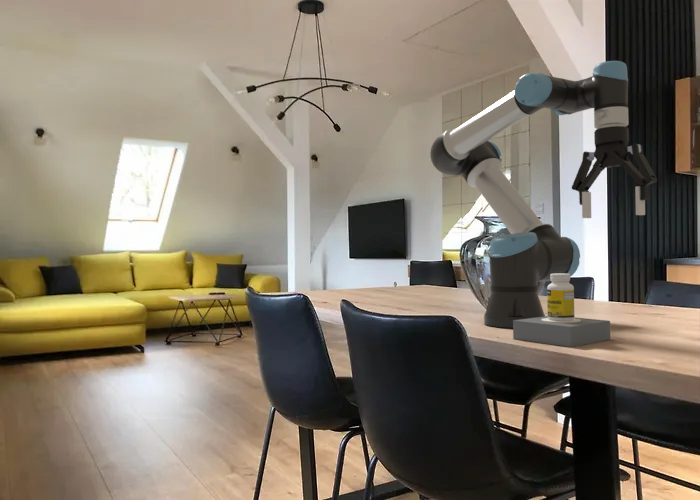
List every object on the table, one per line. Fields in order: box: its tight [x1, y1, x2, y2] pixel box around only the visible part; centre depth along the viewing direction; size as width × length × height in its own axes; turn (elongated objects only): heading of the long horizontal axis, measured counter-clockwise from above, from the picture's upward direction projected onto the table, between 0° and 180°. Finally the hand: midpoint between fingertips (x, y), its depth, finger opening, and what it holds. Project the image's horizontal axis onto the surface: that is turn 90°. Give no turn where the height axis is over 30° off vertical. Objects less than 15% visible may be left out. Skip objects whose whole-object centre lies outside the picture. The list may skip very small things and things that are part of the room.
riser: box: [512, 315, 611, 348], centre depth 126 cm, size 14×14×4 cm
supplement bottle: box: [546, 273, 575, 321], centre depth 126 cm, size 5×5×10 cm
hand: (612, 216), depth 141 cm, fingers open, 13 cm apart
